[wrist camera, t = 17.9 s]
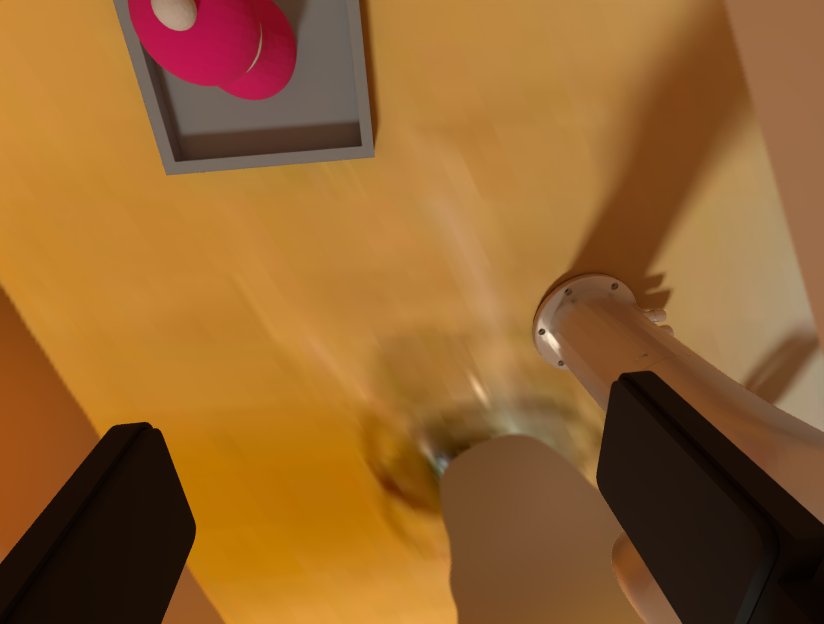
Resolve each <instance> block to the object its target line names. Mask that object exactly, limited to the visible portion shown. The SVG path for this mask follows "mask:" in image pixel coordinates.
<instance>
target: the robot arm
mask: <svg viewBox="0 0 824 624" xmlns="http://www.w3.org/2000/svg"><path fill="white" fill-rule="evenodd" d="M665 319H666V313H665V311H664V310H663V309H659V310H651V311H647V312H646V311H645V310H643V309H642V308H640V307H639V306H638V305H637V303H636V299H635V297H634V295H633V293H632V291H631V290H630V289H629V288H628V287H627V286H626V285H625V284H624V283H622V282H621V281H619V280H618V279H616V278H614V277H612V276H609V275H605V274H596V273H593V274H585V275H581V276H578V277H574V278H572V279H570V280H568V281H566V282H564V283H563V284H561V285H560V286H558V287H557V288H555V289H554V290H553V291H552V292H551V293H550V294H549V295H548V296H547V297H546V299H545V300H544V301H543V303H542V304H541V306H540V307H539V309H538V311H537V313H536V316H535V319H534V323H533V340H534V343H535V346H536V348H537V350H538V351H539V353H540V354H541V356H542V357H543V358H544V359H545V360H546V361H547V362H548V363H550V364H551V365H552V366H554V367H556V368H559V369H563V370H568V371H571V372H572V373H573V374H574V375H575V377H576V378H577V379H578V380H579V382H580V383H581V384H582V385H583V386H584V388H585V389H586V390H587V391H588V392H589V394H590V395H591V396H592V397H593V399H594V400H595V401H596V402H597V403H598V405H599V406H600V407H601V408H602V410H603V411H604V412H605V413H606V419H605V425H604V431H603V437H602V444H601V450H600V456H599V462H598V468H597V475H596V478H597V484H598V487H599V490H600V492H601V494H602V495H603V497H604V499H605V500H606V502H607V503H608V505H609V507H610V508H611V510H612V512H613V513H614V515H615V516H616V518H617V520H618V521H619V523H620V524H621V526H622V528H623V529H624V530H623V531H622V532H621V533H620V534H619V535H618V537H617V539H616V540H615V542H614V544H613V547H612V552H611V560H612V567H613V570H614V574H615V576H616V579H617V581H618V583H619V585H620V587H621V589H622V590H623V592H624V594H625V596H626V597H627V599H628V600H629V602H630V603H631V605H632V606H633V608H634V609H635V610H636V612H637V613H638V614H639V616H640V617H641V619H642V620H643V621H644V623H645V624H824V432H823V431H821V430H819V429H817V428H815V427H813V426H811V425H809V424H807V423H805V422H803V421H802V420H800V419H798V418H796V417H794V416H792V415H790V414H788V413H786V412H785V411H783V410H781V409H779V408H777V407H776V406H774V405H772V404H770V403H769V402H767V401H765V400H764V399H762V398H760V397H758V396H757V395H755V394H754V393H752V392H751V391H749V390H748V389H746V388H745V387H743V386H742V385H740V384H739V383H737V382H736V381H734V380H733V379H731V378H730V377H728V376H727V375H726V374H724V373H723V372H721V371H720V370H719V369H717V368H716V367H714V366H713V365H712V364H710V363H709V362H707V361H706V360H705V359H703V358H702V357H701V356H699V355H698V354H696V353H695V352H694V351H692V350H691V349H689V348H688V347H687V346H685V345H684V344H683V343H681V342H680V341H678V340H677V339H676V338H674V337H673V336H674V335H673V330H672V328H671V327H670V326H669V325H662V326H658V325H656V324H655V323H654V322H659V321H664V320H665ZM195 534H196V524H195V520H194V518H193V515H192V512H191V510H190V507H189V504H188V502H187V499H186V496H185V494H184V491H183V488H182V486H181V483H180V480H179V478H178V475H177V472H176V470H175V467H174V464H173V462H172V459H171V456H170V454H169V451H168V448H167V445H166V443H165V440H164V437H163V435H162V433H161V431H160V430H159V429H157V428H154V429H153V427H152V425H150V424H149V423H147V422H140V423H130V424H121V425H115V426H113V427H112V428H110V429H109V430H108V432H107V433H106V434H105V435H104V436H103V438H102V439H101V440H100V441H99V443H98V444H97V445H96V446H95V448H94V449H93V450H92V452H91V453H90V454H89V455H88V456H87V457H86V459H85V460H84V461H83V462H82V464H81V465H80V466H79V468H78V469H77V470H76V471H75V472H74V474H73V475H72V476H71V477H70V479H69V480H68V481H67V482H66V483H65V485H64V486H63V487H62V488H61V490H60V491H59V492H58V493H57V495H56V496H55V497H54V498H53V499H52V501H51V502H50V503H49V504H48V506H47V507H46V508H45V509H44V511H43V512H42V513H41V514H40V515H39V517H38V518H37V519H36V520H35V522H34V523H33V524H32V526H31V527H30V528H29V529H28V531H26V533H25V534H24V535H23V536H22V538H21V539H20V540H19V541H18V543H17V544H16V545H15V546H14V548H13V549H12V550H11V551H10V553H9V554H8V555H7V556H6V557H5V559H4V560H3V561H2V562H1V564H0V624H161V623H162V620H163V617H164V615H165V612H166V610H167V608H168V605H169V602H170V600H171V597H172V595H173V593H174V590H175V587H176V585H177V583H178V580H179V578H180V575H181V572H182V570H183V568H184V565H185V563H186V560H187V558H188V555H189V553H190V550H191V548H192V545H193V543H194V539H195Z"/></svg>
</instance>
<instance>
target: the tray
mask: <svg viewBox="0 0 824 624" xmlns="http://www.w3.org/2000/svg"><path fill="white" fill-rule="evenodd" d="M272 1H273V2H274V3H275V4H276V5H277V6H278V7H279V8H280V9H281V11H282V12H283V13H284V15H285V16H286V18H287V20H288V21H289V23H290V25H291V28H292V30H293V33H294V37H295V40H296V48H297V58H296V65H295V70H294V72H293V75H292V77H291V79H290V81H289V82H288V84H287V85H286V86H285V87H284V88H283V89H282V90H281V91H280V92H279V93H277V94H276V95H274V96H272V97H270V98H267V99H263V100H246V99H242V98H238V97H236V96H234V95H231V94H229V93H228V92H226V91H224V90H223V89H221V88H219V87H218V86H213V87H212V86H200V85H196V84H192V83H189V82H187V81H184V80H181V79H180V78H178V77H176V76H175V75H173V74H171V73H170V72H168V71H167V70H165V69H164V68H163V67H162V66H160V65H159V64H158V63H157V62H156V61H155V60H154V59H153V58H152V57H151V56H150V55H149V53H148V52H147V50H146V49H145V47H144V46H143V45H142V43H141V42H140V40H139V38H138V36H137V34H136V32H135V30H134V27H133V25H132V22H131V19H130V14H129V9H128V0H113V2H114V5H115V8H116V12H117V15H118V18H119V22H120V25H121V28H122V31H123V35H124V38H125V41H126V44H127V48H128V51H129V54H130V58H131V61H132V64H133V67H134V71H135V74H136V77H137V80H138V84H139V87H140V90H141V94H142V97H143V100H144V103H145V107H146V110H147V113H148V116H149V120H150V123H151V126H152V129H153V133H154V136H155V139H156V143H157V146H158V149H159V152H160V156H161V159H162V162H163V165H164V169H165V172H166V175H175V174H187V173H199V172H210V171H222V170H233V169H245V168H256V167H268V166H279V165H291V164H302V163H314V162H325V161H337V160H348V159H360V158H372V157H375V156H374V146H373V136H372V126H371V116H370V106H369V96H368V86H367V76H366V66H365V56H364V46H363V36H362V26H361V16H360V6H359V0H272Z"/></svg>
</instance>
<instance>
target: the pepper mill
mask: <svg viewBox="0 0 824 624" xmlns="http://www.w3.org/2000/svg"><path fill="white" fill-rule="evenodd" d="M128 9H129V14H130V19H131V22H132V25H133V27H134V30H135V32H136V34H137V36H138V38H139V40H140V42H141V43H142V45H143V46H144V47H145V49H146V50H147V52H148V53H149V55H150V56H151V57H152V58H153V59H154V60H155V61H156V62H157V63H158V64H159V65H160V66H162V67H163V68H164V69H165V70H167V71H168V72H170V73H171V74H173V75H175V76H176V77H178V78H180V79H181V80H184V81H187V82H189V83H192V84H196V85H200V86H212V87H213V86H218V87H219V88H221V89H223V90H224V91H226V92H228V93H229V94H231V95H234V96H236V97H238V98H242V99H246V100H263V99H267V98H270V97H272V96H274V95H276V94H277V93H279V92H280V91H281V90H282V89H283V88H284V87H285V86H286V85H287V84H288V82H289V81H290V79H291V77H292V75H293V72H294V70H295V65H296V58H297V48H296V40H295V37H294V33H293V30H292V28H291V25H290V23H289V21H288V20H287V18H286V16H285V15H284V13H283V12H282V11H281V9H280V8H279V7H278V6H277V5H276V4H275V3H274V2H273V1H272V0H128Z"/></svg>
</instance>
